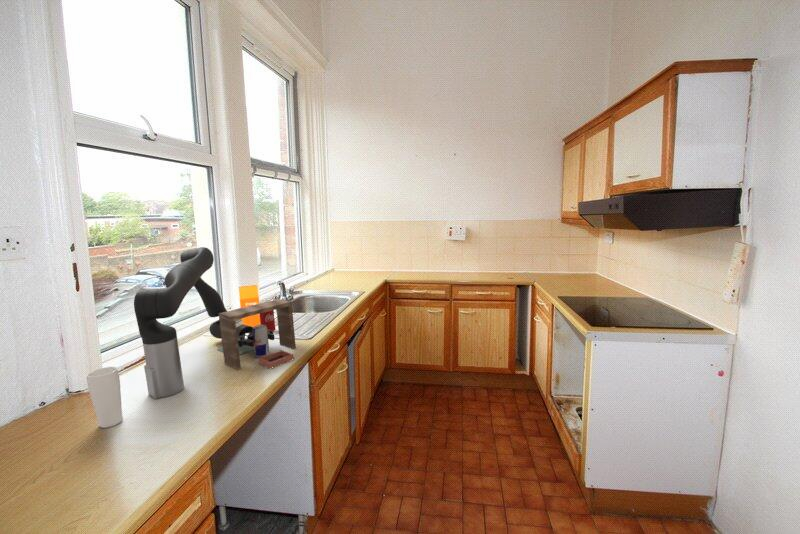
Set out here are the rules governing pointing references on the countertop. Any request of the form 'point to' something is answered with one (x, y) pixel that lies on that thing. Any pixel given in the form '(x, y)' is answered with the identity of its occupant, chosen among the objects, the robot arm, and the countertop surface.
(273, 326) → the beverage can
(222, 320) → the tunnel
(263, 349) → the energy drink
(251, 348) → the mat
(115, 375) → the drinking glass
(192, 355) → the countertop surface
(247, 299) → the orange juice
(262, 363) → the pink tray
